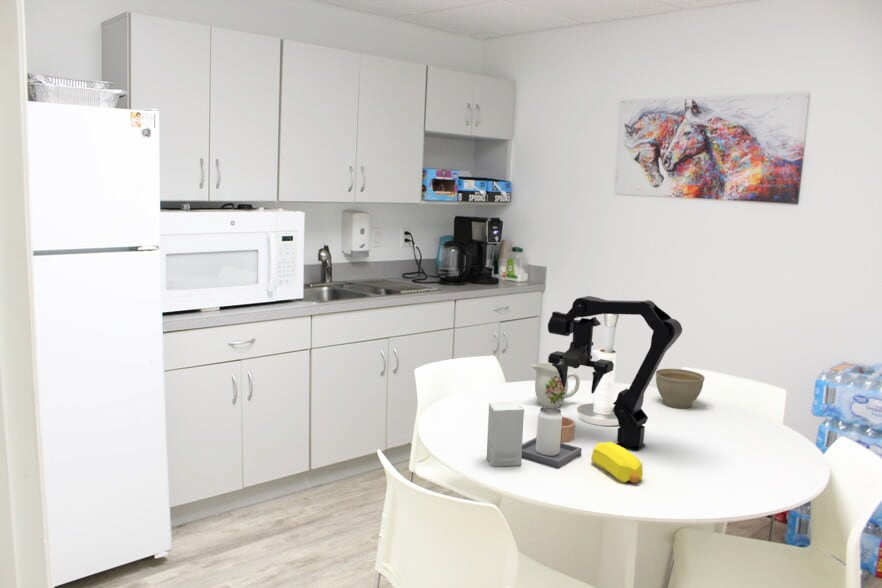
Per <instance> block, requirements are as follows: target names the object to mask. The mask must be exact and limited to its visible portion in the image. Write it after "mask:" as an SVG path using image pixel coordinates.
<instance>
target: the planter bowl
mask: <svg viewBox="0 0 882 588" xmlns="http://www.w3.org/2000/svg"><path fill="white" fill-rule="evenodd" d="M655 376H656V377H655V383H656V388H657V390H658V394H659V395H660V397H661V398H662V402H663V404H665V405H666V406H668V407H672V408H679V409H685V408H686V409H687V408H691V407H692V405H693V403H694V402H695V401H697V398H698V397H699V395H700V394H701V393H702V390H703V386H704V381H705V376H704V375H703V374H701V373H699V372H697V371H694V370H689V369H682V368H661V369H657V370H656V371H655Z"/></svg>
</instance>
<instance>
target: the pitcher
mask: <svg viewBox="0 0 882 588" xmlns="http://www.w3.org/2000/svg"><path fill="white" fill-rule="evenodd" d="M552 364H553V363H549V362H543V363H542V362H541V363H534V364H533V363H531V364H530V367H531V368H533V369H534V371H535V373H536V377H535V379H534V380H535V382H534V389H535V396H536V398H537V399H536V400H537V401H538V403H539V404H540V406H542V407H553V408H559V407H560V406H561V405H562V404H563V403H564V401H565V399H568V398H571V397H573V396H574V395H575V394H576V393H577V392H578V391H579V388H580V383H581V381H580V377H579V375H578V373H576V372H569V373H568V371H569V370H568V371H567V382H566V386H565V387H563V386H562V382H561V379H560V375H559V372H558V370H557V369H556V367H554V366H552ZM571 377H574V379H575V386H574V388H573V390H571V391H570V392H568V389H569V381H568V380H569V378H571Z"/></svg>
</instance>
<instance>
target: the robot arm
mask: <svg viewBox="0 0 882 588" xmlns="http://www.w3.org/2000/svg"><path fill="white" fill-rule="evenodd" d="M571 306H572V307H571V308H570V309H569V310H568V312H567V313H565V312H564V313H563V312H560V311H552V312H551V313H552V314H551V316H550V318H549V319H548V320H549V321H548V322H547V331H548V333H549V334H553V335H558V336H563V337H569V336H570V335H571V334H572V341H570V343H569V347H568V349H567V350H566V351H565V352H564V351H559V350H557V351H553V352H551V353H549V354H548V357H547V359H548V360H547V363H553V364H552V366H554V367H556V369H557V370H558V372H559V375H560V379H561V382H562V386H563V387H565V386H566V382H567V374H568V372H567V371H569V368H573V369H578V368H579V367H580V366H584V367H589V368H593V370H594V371H593V372H592V383H591V394H594V393H595V392H596V390H597V387H598V386H599V384H600V382H601V381H602V378H603V377H604V375H606V374H608V373H610V372H613V371H614V366H615V365H614V362H613V361H612V360H607V359H603V358H601V359H598V360H592V359H593V355H592V348H593V346H594V341H593V334H594V333H593V332H594V327H598V326H601V324H602V323H601V322H600V321H599V320H598V319H597V317H596V316H597V315H599V316H600V315H630V316H631V315H633V316H634V315H636V316H641V317H642V318H643V319H644V321H645V322H646V324H647V326H648V328H650V329H651V330H652V334H651V338H650V339H651V340H650V347H649V349H648V351H647V353H646V355H645V357H644V358H643V361H642V363H641V365H640V367H639V368H638V370H637V372H636V375H635V377H634V378H633V380H632V382H631V384H630V386H629V388H625V389H623V390H621V391H619V392H618V394H617V397H616V399H615V400H614V402H613V403H612V405H614V406H613V411H612V412H613V413H614V416H615V417H616V418H617V422H618V426H619V427H618V428H617V435H616V436H617V437H616V441H617V442H616V443H615V444H617V445H619V446H621V447H623V448H625V449H626V450H627V449H628V450H632V451H636V452H637V451H639V450H641V449H642V448H645V447H646V443H644V441H645V440H644V439H645V431H646V427H645V424H646V423H647V422H648V419H649V417H648V415H647V414H646V413H645V411H644V410H643V409H642V408H643V403H644V397H645V392H646V390H647V389H648V386H649V384H650V382H651V381H652V379H653V377H654V375H655V374H656V371H657V370H658V368H659V366H660V363H661V361H662V360H663V358H664V357H665V354H666V353H667V351H668V350H669V349H670V348H671V347H672V346H673V344H674V343H676V341H677V340H678V339H679V337H680V336H681V334H682V333H683V327H682V324H681V323H680V321H678V320H677V319H675V318H672V317H671V316H670V315H669V314H668V313H667V312H665V311H664V310H662V309H661V308H660V307H658V305H656V303H655V302H654V301H652V300H650V299H647V300H608V299H603V298H600V297H596V296H590V295H587V296H582V297H578V298H576V299H575V300H574V301H573V302H572V305H571ZM589 317H591V318H589ZM578 318H580V320H579V319H578Z"/></svg>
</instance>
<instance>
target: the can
mask: <svg viewBox="0 0 882 588" xmlns="http://www.w3.org/2000/svg"><path fill="white" fill-rule="evenodd" d="M562 417H563V415H562V410H561V409H559V408H558V407H556V408H553V407H544V406H542V407H540V410H539V412H538V415H537V426H536V437H537V438H536V437H535V438H536V451H537V453H538V454H540V455H543V456H556V455H558V454H559V452H560V440H561V427H562Z"/></svg>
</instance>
